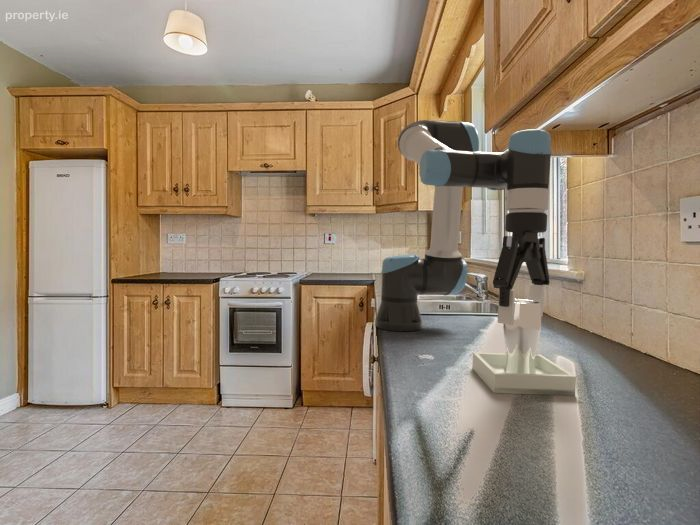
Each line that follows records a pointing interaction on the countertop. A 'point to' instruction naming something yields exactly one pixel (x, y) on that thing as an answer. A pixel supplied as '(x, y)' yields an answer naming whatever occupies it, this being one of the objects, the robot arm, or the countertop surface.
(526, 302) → the beer glass
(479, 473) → the countertop surface
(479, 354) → the tray
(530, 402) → the countertop surface
